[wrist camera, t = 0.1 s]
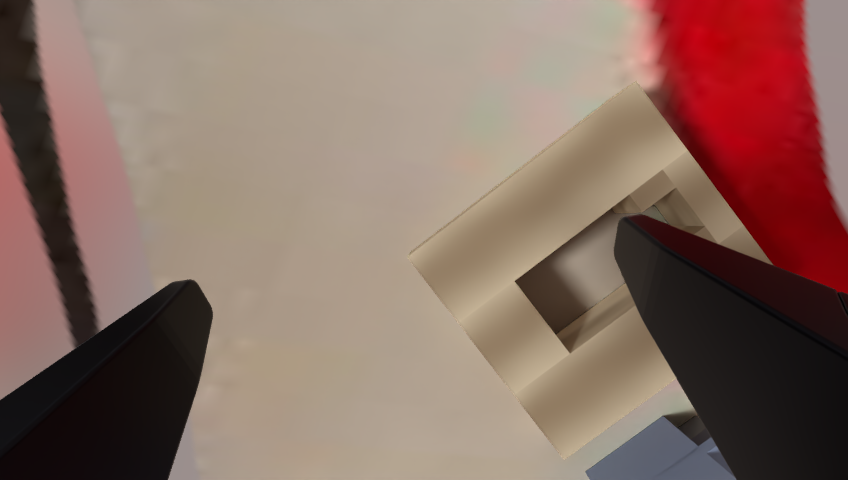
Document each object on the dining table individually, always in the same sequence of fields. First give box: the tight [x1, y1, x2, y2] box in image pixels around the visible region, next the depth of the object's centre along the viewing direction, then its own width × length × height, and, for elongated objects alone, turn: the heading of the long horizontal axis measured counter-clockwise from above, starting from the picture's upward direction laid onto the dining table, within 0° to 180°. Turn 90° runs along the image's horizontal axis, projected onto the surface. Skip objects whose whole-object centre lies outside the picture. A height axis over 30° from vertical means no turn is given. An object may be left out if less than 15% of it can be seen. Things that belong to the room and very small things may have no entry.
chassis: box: [407, 81, 773, 460], centre depth 22 cm, size 13×14×3 cm
